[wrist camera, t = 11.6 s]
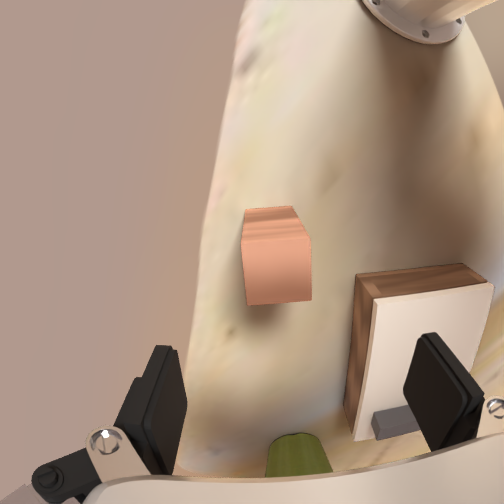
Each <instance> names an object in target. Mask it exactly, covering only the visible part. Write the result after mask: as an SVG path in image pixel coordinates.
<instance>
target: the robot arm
mask: <svg viewBox="0 0 504 504" xmlns="http://www.w3.org/2000/svg"><path fill="white" fill-rule="evenodd" d="M362 1H363V3H364V4H365V6H366V7H367V8H368V9H369V10H370V11H371V13H372V14H373V15H374V16H375V17H376V18H378V19H379V20H380V21H381V22H382V23H383V24H384V25H386V26H387V27H389V28H390V29H391V30H393V31H394V32H396V33H398V34H400V35H401V36H403V37H405V38H408V39H410V40H413V41H415V42H419V43H424V44H441V43H445V42H447V41H450V40H452V39H453V38H455V37H456V36H457V35H458V34H459V33H460V32H461V31H462V28H463V26H464V22H465V15H466V14H469V13H471V12H473V11H475V10H477V9H479V8H481V7H483V6H486V5H488V4H490V3H492V2H494V1H496V0H362ZM373 3H374V4H373ZM484 394H485V393H484V392H483V391H482V389H481V388H480V387H479V385H478V384H477V383H476V381H475V380H474V379H473V377H472V376H471V375H470V374H469V372H468V371H467V370H466V368H465V367H464V366H463V365H462V363H461V362H460V361H459V359H458V358H457V357H456V356H455V354H454V353H453V352H452V351H451V349H450V348H449V347H448V346H447V345H446V343H445V342H444V341H443V340H442V338H441V337H440V336H439V335H438V334H437V333H436V332H431V333H424V334H422V335H421V337H420V338H418V340H417V343H416V346H415V350H414V354H413V357H412V360H411V364H410V367H409V370H408V374H407V377H406V380H405V383H404V386H403V395H404V397H405V399H406V401H407V403H408V405H409V407H410V409H411V411H412V413H413V415H414V417H415V419H416V421H417V423H418V425H419V427H420V429H421V431H422V433H423V435H424V437H425V440H426V442H427V444H428V446H429V448H430V450H431V452H429V453H426V454H422V455H419V456H415V457H411V458H407V459H403V460H399V461H394V462H390V463H385V464H380V465H375V466H370V467H364V468H359V469H353V470H346V471H339V472H332V473H324V474H314V475H304V476H291V477H272V478H212V477H192V476H173V475H172V473H173V469H174V464H175V460H176V455H177V451H178V446H179V442H180V437H181V433H182V428H183V424H184V419H185V415H186V411H187V397H186V392H185V388H184V383H183V378H182V373H181V368H180V363H179V358H178V353H177V350H173V349H172V347H171V346H166V345H156V346H155V348H154V351H153V353H152V355H151V357H150V360H149V362H148V364H147V366H146V369H145V371H144V373H143V376H142V377H136V378H135V379H134V381H133V383H132V385H131V387H130V390H129V392H128V394H127V396H126V398H125V400H124V403H123V405H122V407H121V410H120V412H119V414H118V416H117V419H116V421H115V423H114V425H113V426H102V427H98V428H96V429H94V430H93V431H92V432H91V433H89V435H88V436H87V438H86V442H85V445H86V448H84V449H81V450H79V451H77V452H74V453H72V454H69V455H67V456H64V457H62V458H59V459H57V460H54V461H52V462H49V463H46V464H44V465H42V466H40V467H38V468H37V469H36V470H35V471H34V473H33V475H32V480H31V481H32V483H31V484H30V485H28V486H26V485H25V484H24V485H22V486H21V487H20V488H19V489H17V490H16V491H14V492H13V493H11V494H10V495H8V496H7V497H6V498H4V499H3V500H1V501H0V504H504V397H501V396H491V397H489V398H487V399H486V400H485V399H484V397H483V396H484Z"/></svg>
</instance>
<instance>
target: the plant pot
mask: <svg viewBox="0 0 504 504" xmlns="http://www.w3.org/2000/svg"><path fill="white" fill-rule="evenodd" d="M332 472H333V470H332V468H331V466H330V463H329V461H328V459H327V457H326V454H325V452H324V450H323V447H322V445H321V443H320V441H319V440H318V438H316V437H315V436H313V435H310V434H305V433H298V434H296V435H286V436H283V437H281V438H279V439H277V440H275V441H274V442H273V443H272V444H271V446H270V449H269V454H268V461H267V468H266V474H265V478H272V477H291V476H304V475H314V474H324V473H332Z"/></svg>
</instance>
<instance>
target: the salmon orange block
mask: <svg viewBox="0 0 504 504" xmlns="http://www.w3.org/2000/svg"><path fill="white" fill-rule="evenodd" d="M241 251H242V260H243V270H244V280H245V289H246V299H247V306H249V305H263V304H276V303H288V302H299V301H310V300H312V284H311V240H310V237H309V235H308V233H307V232H306V230H305V228H304V226H303V225H302V223H301V221H300V219H299V218H298V216H297V214H296V213H295V211H294V209H293V208H292V206H282V207H269V208H256V209H246V211H245V218H244V225H243V232H242V239H241Z"/></svg>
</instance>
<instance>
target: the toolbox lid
mask: <svg viewBox="0 0 504 504" xmlns="http://www.w3.org/2000/svg"><path fill="white" fill-rule="evenodd" d="M494 288H495V286H494V285H492V284H491V283H490V282H488V283H482V284H476V285H470V286H464V287H458V288H452V289H445V290H439V291H432V292H425V293H418V294H410V295H403V296H395V297H387V298H379V299H374V301H373V311H372V320H371V328H370V337H369V344H368V351H367V358H366V365H365V371H364V377H363V383H362V389H361V394H360V400H359V405H358V410H357V415H356V420H355V425H354V429H353V434H352V437H353V441H354V442H357V441H362V440H367V439H372V438H376V440H382V439H386V438H391V437H395V436H399V435H403V434H407V433H411V432H414V431H418V430H421V429H420V427H419V425H418V423H417V421H416V419H415V417H414V415H413V413H412V411H411V409H410V407H409V405H408V403H407V401H406V399H405V397H404V395H403V386H404V383H405V380H406V377H407V374H408V370H409V367H410V364H411V360H412V357H413V354H414V350H415V346H416V343H417V340H418V338H420V337H421V335H422V334H424V333H431V332H436V333H437V334H438V335H439V336H440V337H441V338H442V340H443V341H444V342H445V343H446V345H447V346H448V347H449V348H450V349H451V351H452V352H453V353H454V354H455V356H456V357H457V358H458V359H459V361H460V362H461V363H462V365H463V366H464V367H465V368H466V370H467V371H468V372H469V373H470V370H471V368H472V365H473V362H474V359H475V356H476V353H477V350H478V347H479V344H480V341H481V338H482V334H483V331H484V328H485V324H486V321H487V317H488V313H489V309H490V305H491V301H492V297H493V293H494Z"/></svg>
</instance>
